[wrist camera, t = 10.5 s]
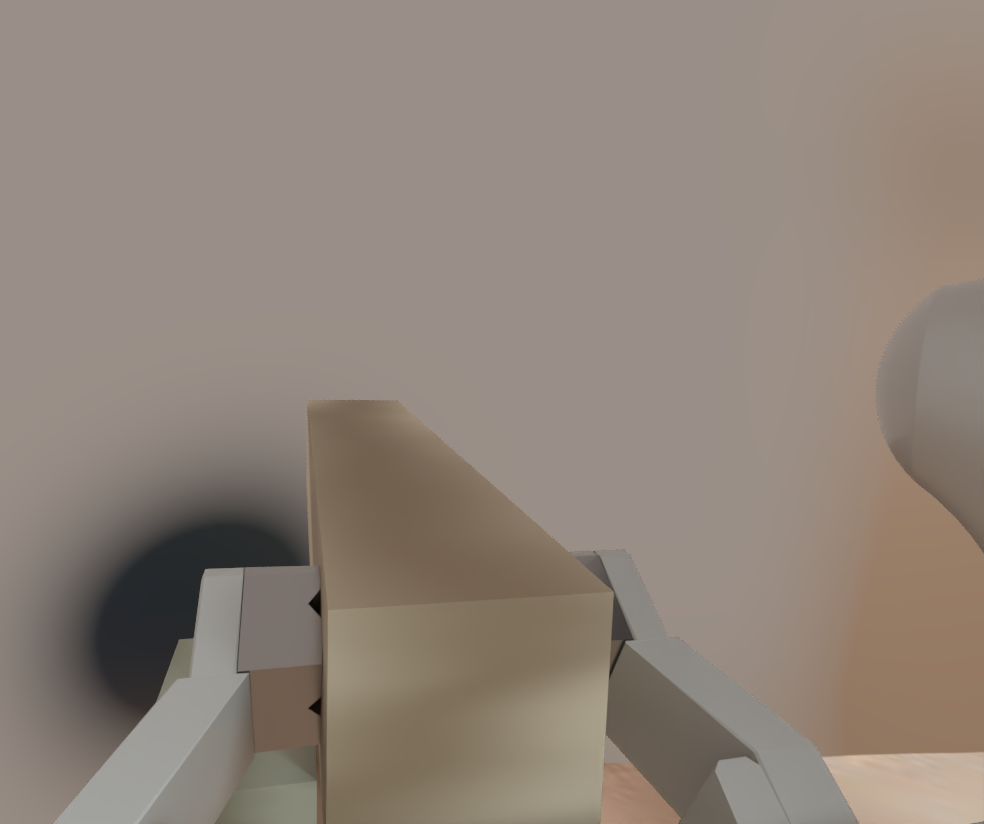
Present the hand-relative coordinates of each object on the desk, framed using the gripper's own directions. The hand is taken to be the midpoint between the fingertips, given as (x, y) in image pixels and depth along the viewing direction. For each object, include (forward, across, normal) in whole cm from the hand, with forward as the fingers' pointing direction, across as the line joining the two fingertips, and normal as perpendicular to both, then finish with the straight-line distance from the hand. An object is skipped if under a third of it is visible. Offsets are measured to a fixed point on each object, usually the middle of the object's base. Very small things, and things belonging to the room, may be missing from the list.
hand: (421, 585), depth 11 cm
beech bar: (+4, 0, +5) cm, 6 cm away
